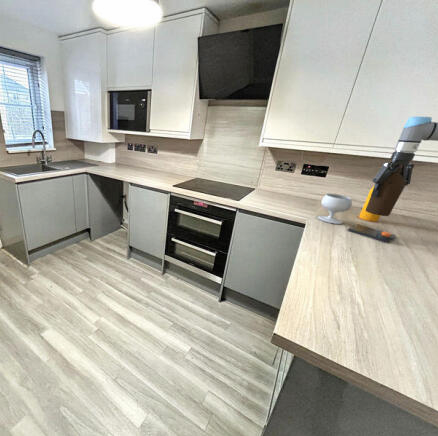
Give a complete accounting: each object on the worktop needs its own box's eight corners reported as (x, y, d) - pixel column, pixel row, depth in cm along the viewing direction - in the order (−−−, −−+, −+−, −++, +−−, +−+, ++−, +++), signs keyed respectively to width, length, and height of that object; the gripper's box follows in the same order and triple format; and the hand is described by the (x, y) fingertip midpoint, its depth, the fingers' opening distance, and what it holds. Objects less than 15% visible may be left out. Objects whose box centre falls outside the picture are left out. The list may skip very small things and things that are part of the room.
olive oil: (395, 218, 117) (420, 167, 108) (370, 214, 119) (392, 165, 110) (382, 211, 126) (404, 164, 117) (359, 208, 129) (379, 162, 120)
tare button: (390, 236, 117) (392, 233, 116) (388, 237, 115) (390, 234, 114) (382, 233, 119) (383, 231, 119) (380, 235, 117) (381, 232, 117)
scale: (397, 238, 122) (400, 233, 121) (389, 244, 114) (392, 238, 113) (357, 226, 135) (359, 221, 134) (347, 230, 127) (349, 225, 126)
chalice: (343, 220, 143) (352, 196, 138) (345, 227, 132) (355, 201, 127) (315, 214, 150) (323, 191, 145) (315, 220, 139) (324, 196, 134)
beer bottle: (361, 215, 154) (379, 171, 143) (379, 220, 147) (400, 174, 136) (356, 218, 149) (375, 172, 138) (375, 223, 142) (397, 175, 131)
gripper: (390, 151, 107) (370, 197, 115) (435, 154, 109) (412, 199, 117) (374, 149, 114) (356, 193, 122) (417, 152, 116) (397, 195, 124)
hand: (384, 196), depth 120 cm, fingers closed on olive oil, 11 cm apart
